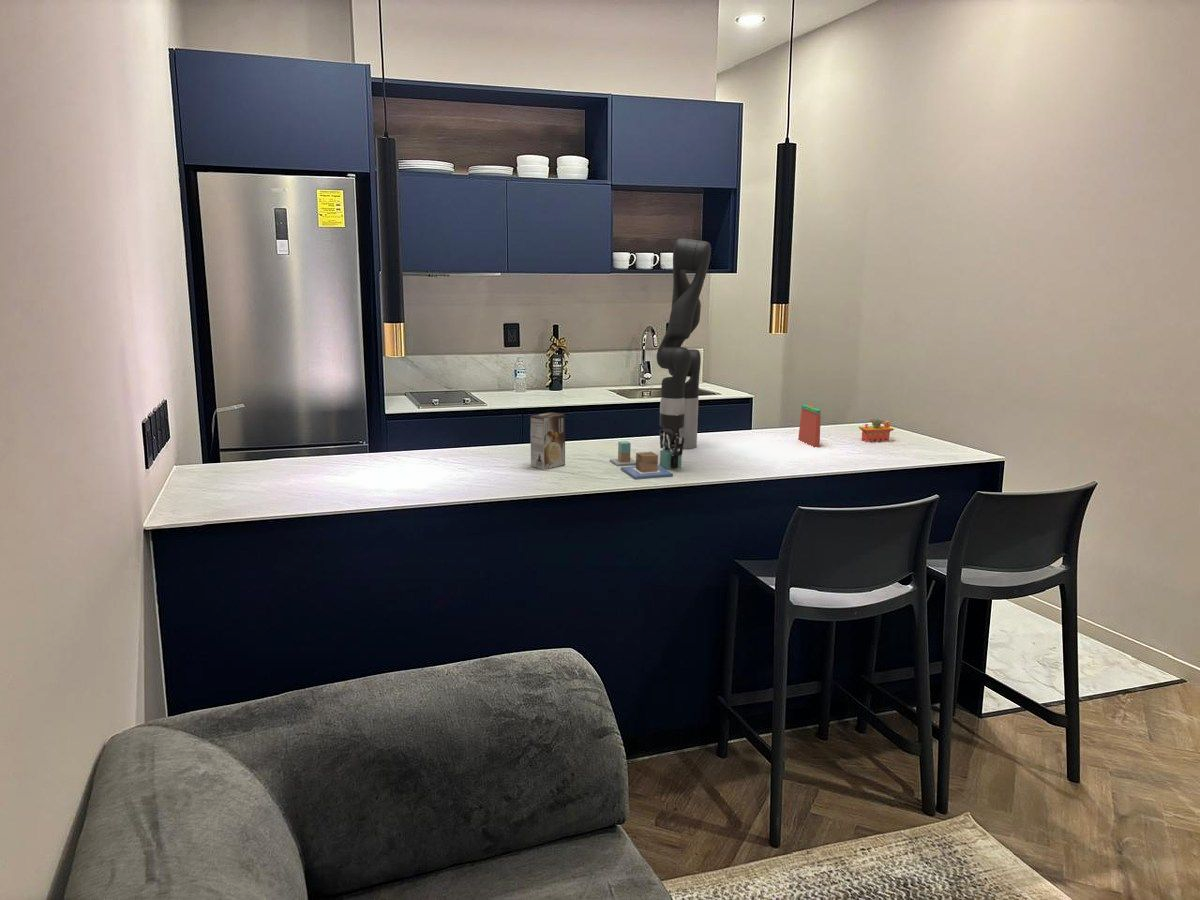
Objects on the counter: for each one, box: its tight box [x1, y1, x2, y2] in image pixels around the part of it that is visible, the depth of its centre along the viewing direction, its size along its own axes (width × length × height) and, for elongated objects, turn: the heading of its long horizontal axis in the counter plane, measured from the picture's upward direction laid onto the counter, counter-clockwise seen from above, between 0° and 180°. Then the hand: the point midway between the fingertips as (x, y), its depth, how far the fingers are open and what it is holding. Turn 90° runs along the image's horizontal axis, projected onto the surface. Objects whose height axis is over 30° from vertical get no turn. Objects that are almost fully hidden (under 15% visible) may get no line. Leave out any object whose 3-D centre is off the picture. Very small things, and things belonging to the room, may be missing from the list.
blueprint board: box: [620, 464, 674, 480], centre depth 262 cm, size 12×12×1 cm
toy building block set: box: [797, 404, 895, 449], centre depth 308 cm, size 12×35×14 cm, turn 104°
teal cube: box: [659, 449, 683, 470], centre depth 269 cm, size 5×5×5 cm
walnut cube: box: [635, 451, 659, 473], centre depth 261 cm, size 5×5×5 cm
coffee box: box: [529, 411, 566, 470], centre depth 267 cm, size 9×6×16 cm
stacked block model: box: [609, 440, 636, 467], centre depth 273 cm, size 7×7×7 cm
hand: (670, 465), depth 270 cm, fingers closed on teal cube, 5 cm apart
